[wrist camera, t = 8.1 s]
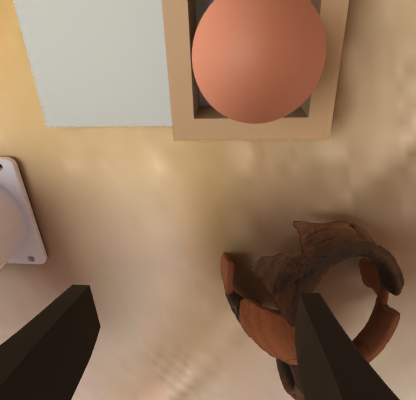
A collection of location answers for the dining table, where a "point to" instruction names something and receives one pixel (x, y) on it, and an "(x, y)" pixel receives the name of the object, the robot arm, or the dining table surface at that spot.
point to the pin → (258, 57)
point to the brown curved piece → (305, 283)
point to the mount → (152, 69)
